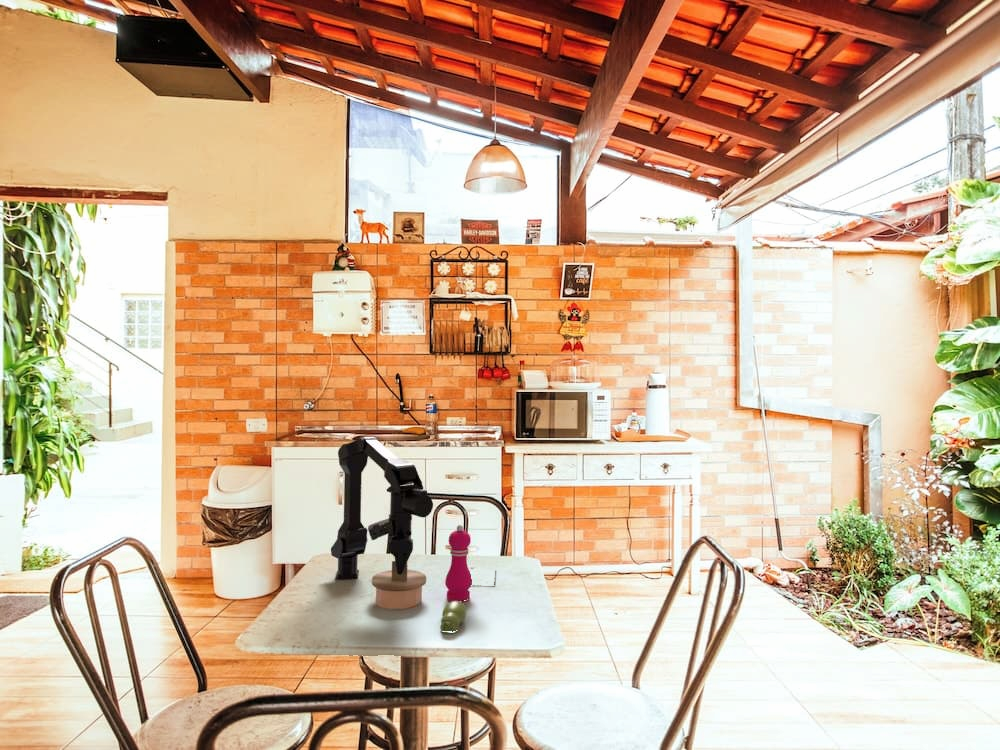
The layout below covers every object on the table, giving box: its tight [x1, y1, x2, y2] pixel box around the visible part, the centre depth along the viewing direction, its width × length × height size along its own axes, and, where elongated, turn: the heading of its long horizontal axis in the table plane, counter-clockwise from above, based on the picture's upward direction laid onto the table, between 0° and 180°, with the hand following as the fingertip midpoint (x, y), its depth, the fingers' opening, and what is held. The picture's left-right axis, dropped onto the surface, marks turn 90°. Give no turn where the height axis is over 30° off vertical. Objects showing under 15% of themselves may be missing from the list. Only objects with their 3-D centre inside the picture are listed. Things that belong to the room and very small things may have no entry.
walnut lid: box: [371, 560, 427, 591], centre depth 162 cm, size 14×14×5 cm
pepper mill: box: [444, 524, 472, 602], centre depth 164 cm, size 7×7×20 cm
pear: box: [439, 601, 467, 632], centre depth 146 cm, size 6×5×10 cm
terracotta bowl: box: [375, 586, 423, 610], centre depth 162 cm, size 12×12×5 cm
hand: (399, 568), depth 162 cm, fingers open, 9 cm apart
